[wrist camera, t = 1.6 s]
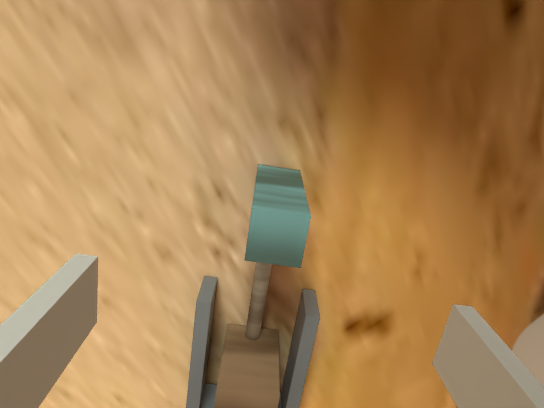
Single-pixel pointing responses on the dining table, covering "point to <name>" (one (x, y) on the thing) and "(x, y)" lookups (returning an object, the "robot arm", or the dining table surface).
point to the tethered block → (264, 290)
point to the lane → (298, 359)
